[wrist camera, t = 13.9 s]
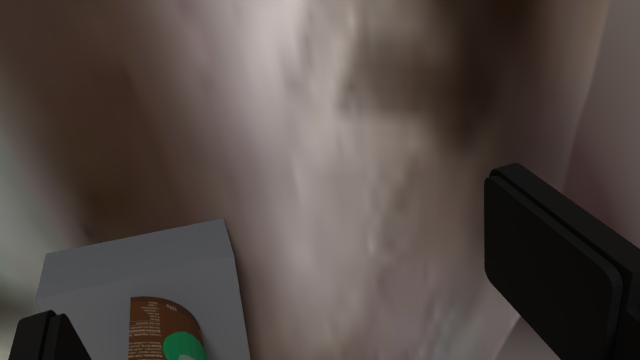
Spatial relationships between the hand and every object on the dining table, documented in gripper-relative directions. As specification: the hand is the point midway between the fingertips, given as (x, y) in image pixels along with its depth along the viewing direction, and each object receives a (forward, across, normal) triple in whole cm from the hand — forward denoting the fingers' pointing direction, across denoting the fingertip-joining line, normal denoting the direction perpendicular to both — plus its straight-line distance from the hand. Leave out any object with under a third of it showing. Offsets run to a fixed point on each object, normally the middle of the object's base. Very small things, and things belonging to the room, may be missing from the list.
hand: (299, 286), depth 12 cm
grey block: (+31, +9, +23) cm, 40 cm away
